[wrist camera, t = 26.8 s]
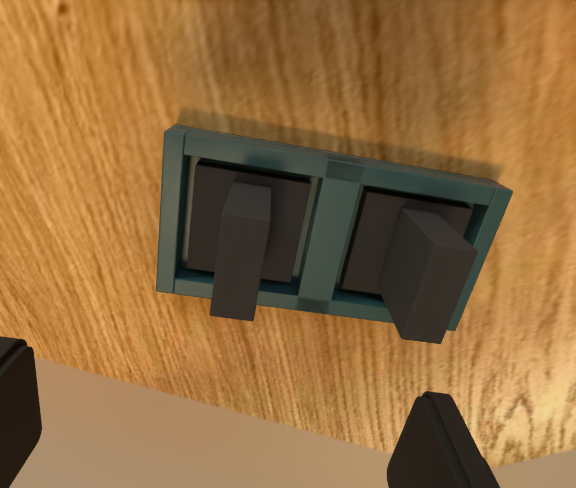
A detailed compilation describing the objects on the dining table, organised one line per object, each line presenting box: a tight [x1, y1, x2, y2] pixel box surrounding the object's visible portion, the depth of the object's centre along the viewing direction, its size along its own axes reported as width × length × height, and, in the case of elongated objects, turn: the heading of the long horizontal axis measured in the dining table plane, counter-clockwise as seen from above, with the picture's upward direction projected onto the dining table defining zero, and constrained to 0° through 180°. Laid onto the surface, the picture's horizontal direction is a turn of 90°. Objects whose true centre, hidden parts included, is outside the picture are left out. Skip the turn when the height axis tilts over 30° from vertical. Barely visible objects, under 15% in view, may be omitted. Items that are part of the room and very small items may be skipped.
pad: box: [187, 161, 311, 321], centre depth 20 cm, size 6×6×6 cm
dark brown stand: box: [340, 187, 478, 344], centre depth 21 cm, size 6×6×6 cm
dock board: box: [156, 125, 513, 331], centre depth 23 cm, size 18×9×2 cm, turn 80°
